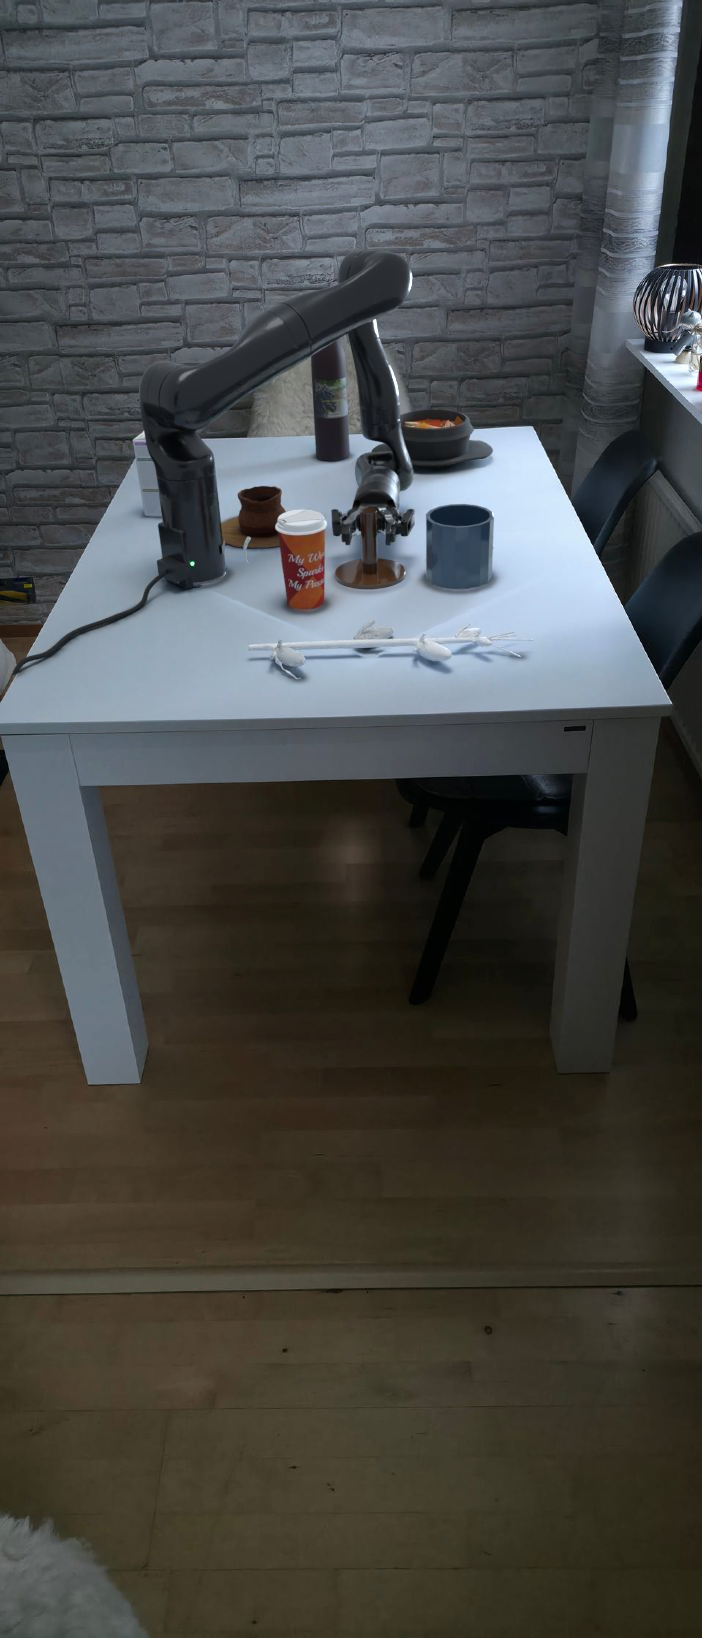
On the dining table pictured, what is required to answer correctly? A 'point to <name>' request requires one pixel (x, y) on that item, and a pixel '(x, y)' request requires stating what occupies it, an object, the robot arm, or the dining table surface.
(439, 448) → the casserole
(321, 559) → the paper cup
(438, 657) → the dried plant stem
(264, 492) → the ceramic pot
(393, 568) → the paper towel holder
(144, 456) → the syrup box
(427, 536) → the blue faceted canister
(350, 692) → the dining table surface
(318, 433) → the wine bottle
